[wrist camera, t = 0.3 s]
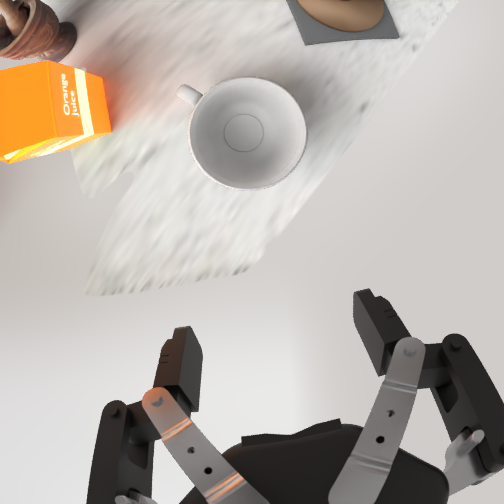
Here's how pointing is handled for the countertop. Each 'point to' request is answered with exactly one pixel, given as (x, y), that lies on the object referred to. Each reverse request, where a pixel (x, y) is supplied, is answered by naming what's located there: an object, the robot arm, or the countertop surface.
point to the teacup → (245, 132)
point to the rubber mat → (323, 34)
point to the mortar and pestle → (33, 31)
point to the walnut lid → (345, 13)
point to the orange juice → (49, 109)
